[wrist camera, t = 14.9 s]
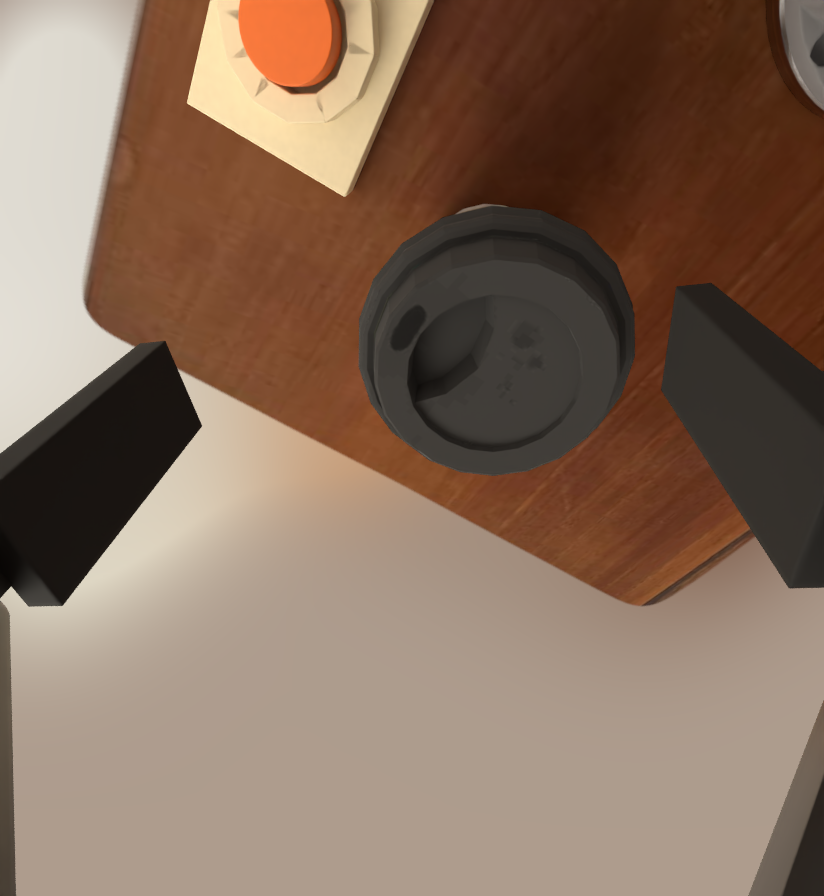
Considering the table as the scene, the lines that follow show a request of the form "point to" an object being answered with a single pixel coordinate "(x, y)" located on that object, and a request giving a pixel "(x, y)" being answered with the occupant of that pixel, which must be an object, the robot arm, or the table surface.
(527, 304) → the coffee cup
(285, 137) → the button box
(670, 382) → the robot arm
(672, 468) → the table surface
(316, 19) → the button
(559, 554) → the table surface
